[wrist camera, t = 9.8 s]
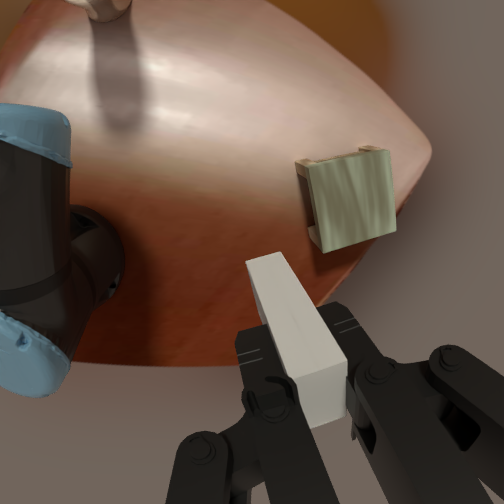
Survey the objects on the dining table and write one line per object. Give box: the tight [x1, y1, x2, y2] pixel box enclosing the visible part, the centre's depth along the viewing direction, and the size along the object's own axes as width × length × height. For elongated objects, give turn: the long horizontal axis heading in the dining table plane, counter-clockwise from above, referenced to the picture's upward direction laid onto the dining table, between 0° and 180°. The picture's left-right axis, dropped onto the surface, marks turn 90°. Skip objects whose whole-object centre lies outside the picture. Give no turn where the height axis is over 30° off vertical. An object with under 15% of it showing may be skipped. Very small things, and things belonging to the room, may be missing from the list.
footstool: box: [295, 146, 396, 253], centre depth 39 cm, size 6×11×11 cm
